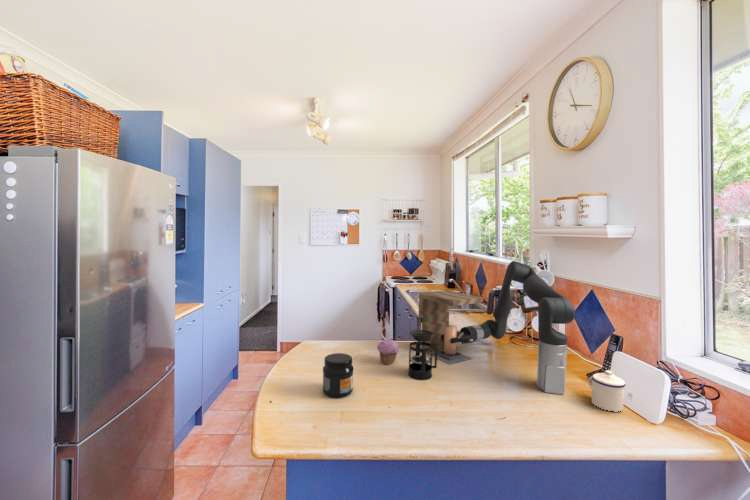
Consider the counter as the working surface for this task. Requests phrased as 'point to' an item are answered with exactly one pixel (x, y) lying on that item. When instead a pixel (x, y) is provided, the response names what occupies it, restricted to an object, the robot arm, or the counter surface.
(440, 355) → the grey square plate
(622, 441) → the counter surface
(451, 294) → the wooden side table
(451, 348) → the canister
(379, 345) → the cupcake
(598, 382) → the teacup with lid
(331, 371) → the supplement container
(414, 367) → the french press
